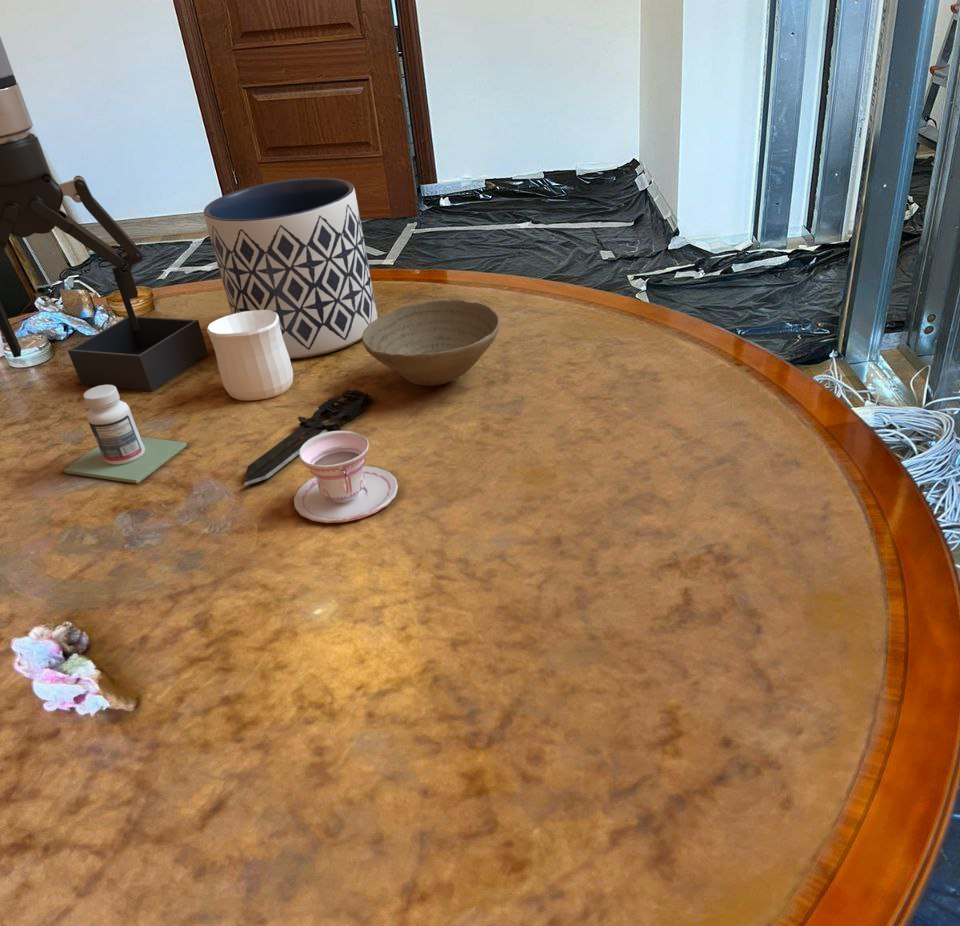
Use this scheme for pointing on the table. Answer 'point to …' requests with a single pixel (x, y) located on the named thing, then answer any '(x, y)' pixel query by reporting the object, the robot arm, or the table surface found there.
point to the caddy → (139, 353)
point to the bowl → (432, 339)
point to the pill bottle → (113, 425)
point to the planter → (296, 260)
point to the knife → (306, 427)
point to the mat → (129, 472)
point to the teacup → (341, 479)
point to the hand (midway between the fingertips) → (77, 339)
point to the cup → (251, 355)
